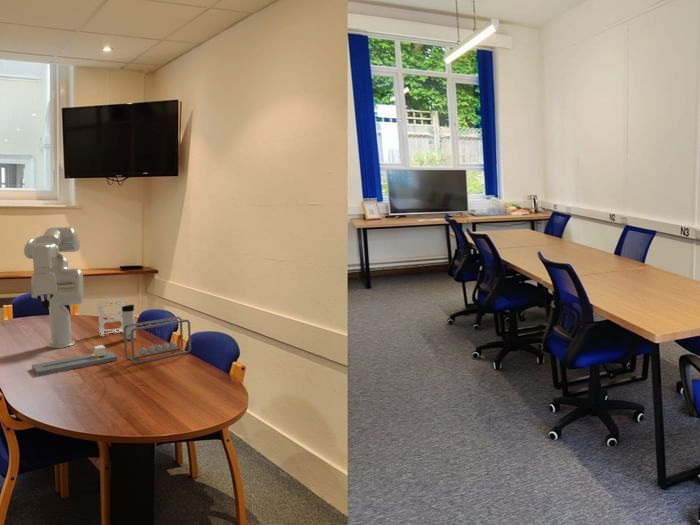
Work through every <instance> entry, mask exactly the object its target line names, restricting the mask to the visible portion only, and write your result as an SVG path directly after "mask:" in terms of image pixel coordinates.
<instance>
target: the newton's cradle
mask: <svg viewBox="0 0 700 525" xmlns="http://www.w3.org/2000/svg"><path fill="white" fill-rule="evenodd" d="M173 320H174V321H173ZM183 323H187V332H188V333H187V336H188V350H184V349H182V348H183V346H184V338H183V336H184V335H183V334H184V333H183ZM175 324H179V335H180V346H179V347H178V343H177V342H176V341H175V339H174V338H175V336H171V338H172V341H171V342H169V343H168V342H167V336H168V334H167V332H166V334H165V331H163V335H164V336H165V339H164V341H165V343H163V344H160V343H157V344H156V345H155V346H154V345H152V344H153V343H152V341H153V340H152V339H153V337H152V336H153V335H150V333H148V336H149V338H150V341H149V344H150V346H148V347H147V348H145V347H144V346H142V347H141V348H139V350H138V355H135V339H134V337H133V332H134V331H135V332H136V331H139V330H140V331H142V330H145V329H148V330H150V328H151V329H153V328H155V330H156V332H158V333H160V331H161V330H160V328H161V327H163V328H165V326H169V325H170V326H171V325H175ZM143 325H145V326H143ZM132 326H135V328H133V327H132ZM138 326H139V327H138ZM127 327H131V328H133V329H132V331H131V340H130V343H131V356H130V357H129V356H128V343H127V342H128V341H127V338H126V328H127ZM157 328H159V330H157ZM170 331H171V333H173V329H172V328H170ZM191 335H192V334H191V322H190V320H189V319H183V318H182V317H181V316H173V317H167V318H161V319H155V320H149V321H148V320H147V321H143V322H135V324H129V325H126V326H125V327H124V336H123V344H124V346H123V347H124V357H125V359H126V360H128V361H129V360H131V361H132V364H135V365H138V364H139V365H140V364H142V363H148V362H152V361H158V360H162V359H163V360H164V359H166V358H171V357H176V356H181V355H185V354H188V353H190V352H191V350H192V338H191ZM142 336H143V337H142ZM140 338H141V341H142V343H144V338H145V335H140ZM156 339H157V341H159V336H156ZM178 350H180V352H176V353H172V354H167V355H162V356H159V357H158V356H157V357H153V358H149V359H143V360H138V361H136V360H135V358H136V359H140V357H141V358H144V357H145V358H146V357H149V356H154V355H160V354H164V353H169V352H173V351H178Z"/></svg>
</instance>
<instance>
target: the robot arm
mask: <svg viewBox="0 0 700 525" xmlns="http://www.w3.org/2000/svg"><path fill="white" fill-rule="evenodd" d="M80 247H81V244H80V239H79V237H78V234H77V231H76V230H75V229H74V228H72V227H70V226H67V227H66V226H63V227H61V226H60V227H59V226H58V227H55V226H54V227H49V228H48V229H46V230H45V232H44V233H43V235H40V236H37V237H33V238H31V239H29V240H28V241H27V243H26V244H25V246H24V248H23V254H24V256H25V258H27V259H29V260H32V263H33V264H32V265H33V266H32V267H33V273H32V274H31V278H30V279H31V282H30V285H31V287H30V288H31V290H30V291H31V298H32V299H38V300H40V302H41V308H43V310H48V311H49V322H50V327H49V328H50V337H51V338H50V339H51V342H50V343H49V344H47V345H48V348H50V349H63V348H68V346H69V347H72V346H73V345H75V344H76V341H75V340H74V339H73V338H72V328H71V327H72V326H71V314H70V311H69V309H68V308H67V307H66V306H69V305H70V306H73V305H75V306H76V305H80V304H82V303H83V301H84V274H83V271H82V270H81V269H80V268H69V261H68V259H67V257H65V256H64V255H63V254H62V253H75V252H78V251H79V249H80ZM45 295H46V296H45ZM72 339H73V340H72Z"/></svg>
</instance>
